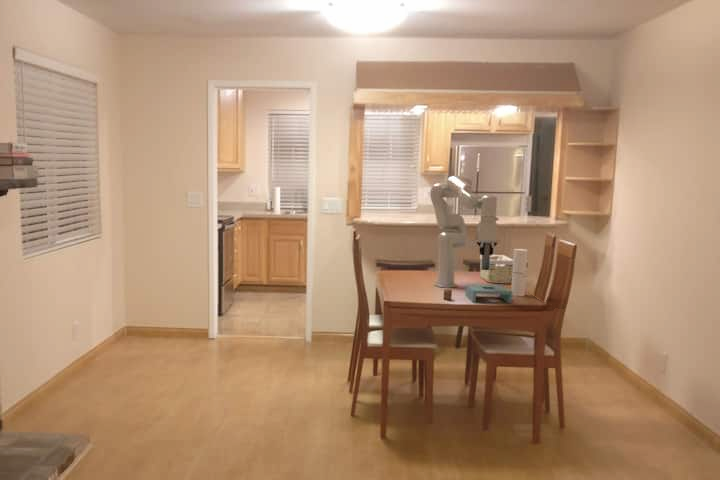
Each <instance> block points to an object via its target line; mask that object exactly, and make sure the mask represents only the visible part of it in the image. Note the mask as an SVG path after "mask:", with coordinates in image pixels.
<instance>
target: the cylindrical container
mask: <svg viewBox="0 0 720 480" xmlns="http://www.w3.org/2000/svg"><path fill="white" fill-rule="evenodd" d="M528 251H529V250H528V249H524V248H514V249H513V257H512V260H513V272H512V279H511V287H510V289H511V290H510V291H512V297H513V296H515V297H525V291H526V281H527V280H526V279H527V277H526V275H527V266H528V263H527V262H528Z"/></svg>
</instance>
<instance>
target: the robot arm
mask: <svg viewBox="0 0 720 480" xmlns="http://www.w3.org/2000/svg"><path fill="white" fill-rule="evenodd" d="M472 186H473V182H472V179H471V178H470V177H469V176H468V175H451V176H449V177H448V178H447V179H446V182H438V183H434V184H433V185H432V186H431V188H430V193H429V195H430V200H431V203H432V205H433V208H434V212H435V219H436V223H437V227H438V228H439V230H441V231H442V230H443V231H442V232H441V233H439V234H438V236H437V243H438V261H437V264H438V265H437V266H438V267H437V281H435V282H434V286H435V287H440V288H446V289H448V288H449V289H450V288H456V287H457V283H455V271H456V254H455V251H454V249H456V248H458V249H459V248H460V249H461V248H465V247H466V246H467V244H468V234H467V233H468V232H467V227H466V225H465V224H466V223H465V220H464V217H463V216H462V215H461V214H459V213H452V212H451V211H450V205H449V204H448V202H447V201H446V200H445V199H446V198H449V199H450V198H451V199H452V198H453V199H456V198H457V200H458V202H459V203H460V204H461V205H462V206H464V208H466V209H470V210H480V211H481V212H480V221H478V224H477V230H476V236H475V237H474V239H473V242H474V243H475V244H476V245H478V246H479V254H480V255H483V249H484V248H483V243H484V242H489V243H491V248H490V255H494V248H495V247H496V246H497V245H498V244H500V243H501V242H502V241H501V240H500V238H499V233H498V223H497V221H499V219H500V218H499V217H497V206H498V205H497V202H498V201H497V200H498V199H497V196H495V195H488V194H473V187H472ZM444 198H445V199H444Z"/></svg>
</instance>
